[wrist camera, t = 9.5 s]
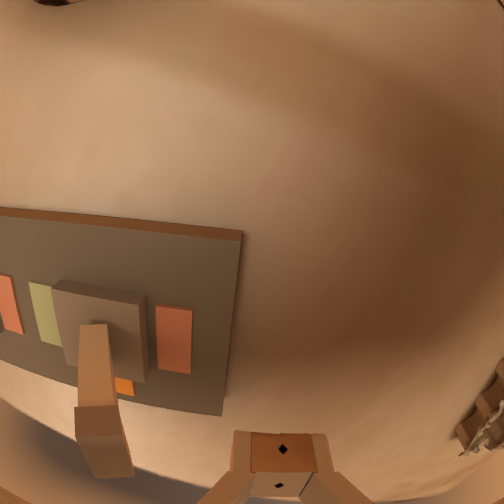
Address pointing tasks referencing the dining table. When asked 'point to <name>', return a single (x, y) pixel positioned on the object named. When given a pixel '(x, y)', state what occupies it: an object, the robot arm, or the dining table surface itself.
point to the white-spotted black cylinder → (55, 2)
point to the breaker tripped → (99, 407)
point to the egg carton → (485, 419)
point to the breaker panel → (121, 302)
